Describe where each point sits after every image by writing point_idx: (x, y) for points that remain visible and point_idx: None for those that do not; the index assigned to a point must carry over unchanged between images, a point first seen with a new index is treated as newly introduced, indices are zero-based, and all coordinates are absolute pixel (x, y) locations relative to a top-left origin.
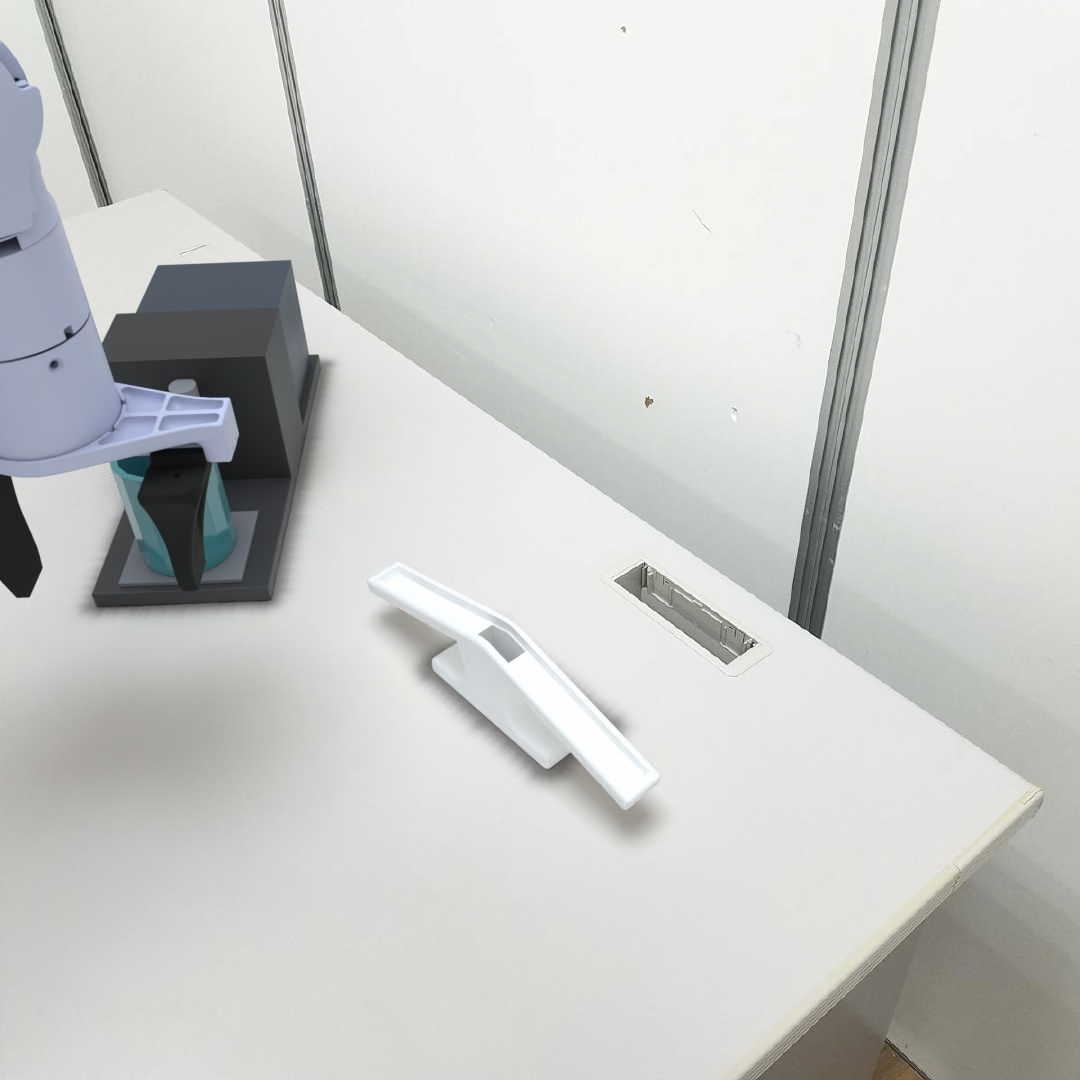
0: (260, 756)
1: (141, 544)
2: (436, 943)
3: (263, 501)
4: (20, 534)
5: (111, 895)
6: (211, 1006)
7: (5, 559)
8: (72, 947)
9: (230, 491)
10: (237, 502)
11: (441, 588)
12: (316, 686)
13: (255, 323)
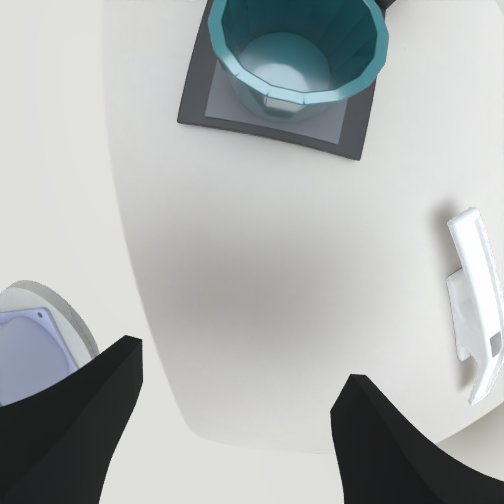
0: (321, 328)
1: (236, 94)
2: None
3: None
4: (112, 398)
5: (224, 392)
6: (275, 436)
7: (117, 438)
8: (207, 408)
9: None
10: None
11: (495, 278)
12: (373, 275)
13: None
